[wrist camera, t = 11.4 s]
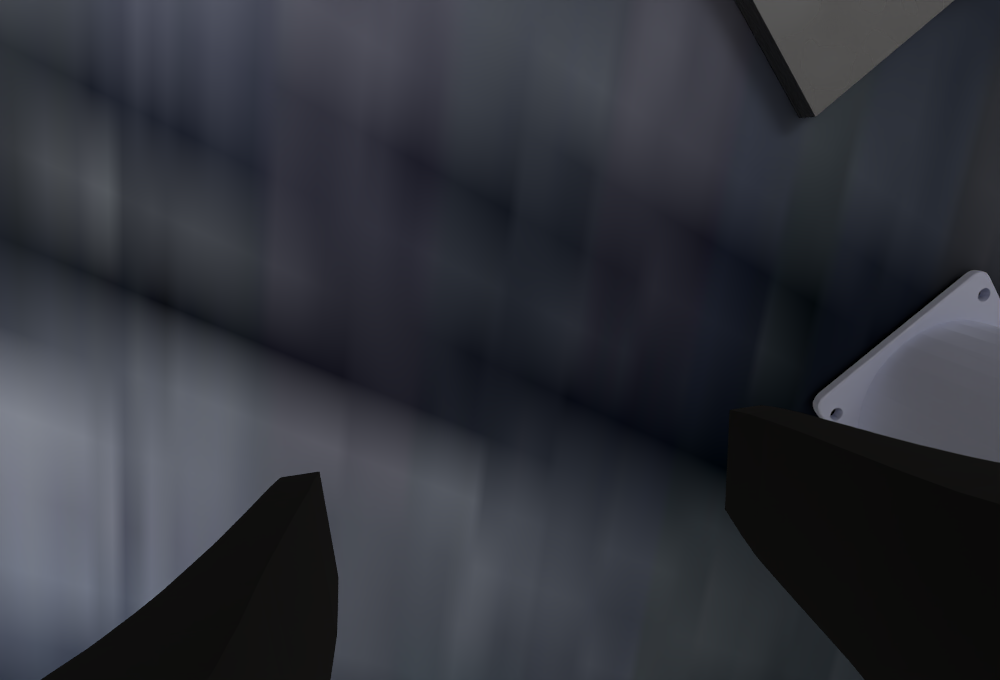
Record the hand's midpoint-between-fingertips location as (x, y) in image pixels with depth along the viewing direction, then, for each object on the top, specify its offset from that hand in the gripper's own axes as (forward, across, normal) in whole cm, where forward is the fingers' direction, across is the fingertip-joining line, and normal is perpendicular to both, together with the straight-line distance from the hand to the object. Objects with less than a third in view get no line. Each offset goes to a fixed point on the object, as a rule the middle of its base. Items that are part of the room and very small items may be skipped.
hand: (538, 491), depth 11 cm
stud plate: (+10, -13, -11) cm, 20 cm away
